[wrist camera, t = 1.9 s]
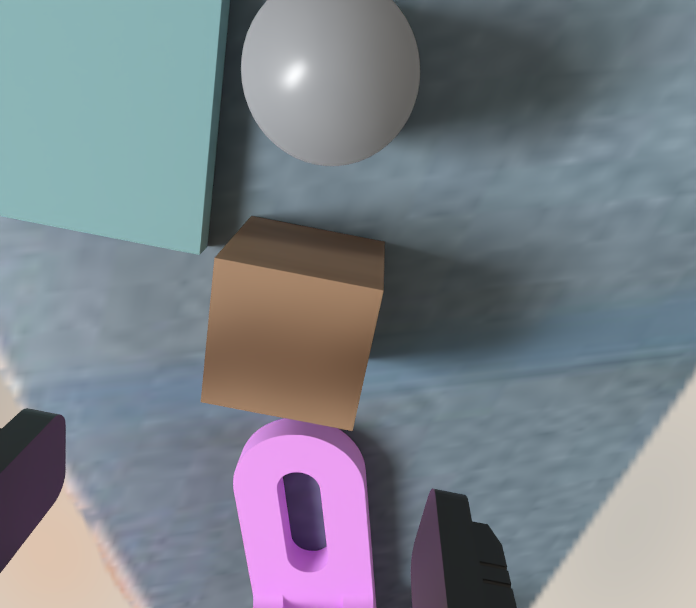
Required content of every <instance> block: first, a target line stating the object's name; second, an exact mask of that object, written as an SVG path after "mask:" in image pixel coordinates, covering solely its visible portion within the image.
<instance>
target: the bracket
mask: <svg viewBox="0 0 696 608" xmlns="http://www.w3.org/2000/svg"><path fill="white" fill-rule="evenodd" d="M293 472H301V473H305V474H308V475H310V476H311V477H313V478H314V479H315V480H316V481H317V482H318V484H319V486H320V490H321V499H322V508H323V516H324V525H325V534H326V542H327V546H326V547H325V548H323V549H321V550H317V551H308V550H304V549H302V548H300V547H298V546H297V545H296V544H295V543H294V542H293V540H292V537H291V531H290V524H289V517H288V510H287V503H286V496H285V489H284V482H283V476H284V475H286V474H289V473H293ZM233 487H234V494H235V499H236V505H237V510H238V515H239V521H240V526H241V532H242V537H243V542H244V548H245V553H246V558H247V564H248V569H249V575H250V580H251V585H252V591H253V608H376V596H375V583H374V571H373V558H372V545H371V532H370V519H369V506H368V494H367V481H366V469H365V463H364V459H363V457H362V454H361V452H360V450H359V449H358V447H357V446H356V444H355V443H354V442H353V441H352V440H351V438H350V437H348V436H347V435H346V434H345V433H344V432H342V431H341V430H340V429H338V428H334V427H329V426H324V425H318V424H313V423H308V422H303V421H297V420H292V419H287V418H285V419H280V420H277V421H274V422H271V423H269V424H267V425H265V426H263V427H262V428H260V429H259V430H257V431H256V432H255V433H254V434H253V435H252V436H251V437H250V438H249V440H248V441H247V443H246V444H245V446H244V449H243V451H242V454H241V456H240V459H239V462H238V464H237V467H236V470H235V473H234V479H233Z"/></svg>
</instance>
